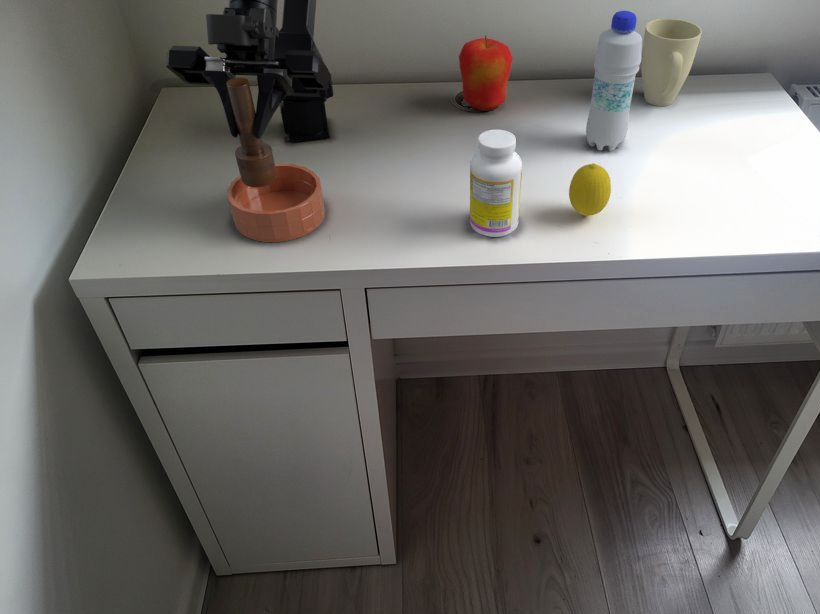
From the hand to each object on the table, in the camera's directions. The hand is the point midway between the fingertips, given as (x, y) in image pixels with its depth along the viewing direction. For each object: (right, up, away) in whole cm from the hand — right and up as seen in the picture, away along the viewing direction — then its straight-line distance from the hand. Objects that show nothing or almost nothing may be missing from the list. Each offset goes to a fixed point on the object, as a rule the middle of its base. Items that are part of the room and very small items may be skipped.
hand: (245, 137), depth 88 cm
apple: (+30, +15, +33) cm, 48 cm away
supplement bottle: (+31, -10, +9) cm, 34 cm away
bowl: (+2, -8, +10) cm, 13 cm away
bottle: (+49, +6, +24) cm, 55 cm away
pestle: (0, -4, +6) cm, 7 cm away
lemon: (+44, -8, +10) cm, 46 cm away
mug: (+61, +16, +35) cm, 72 cm away
